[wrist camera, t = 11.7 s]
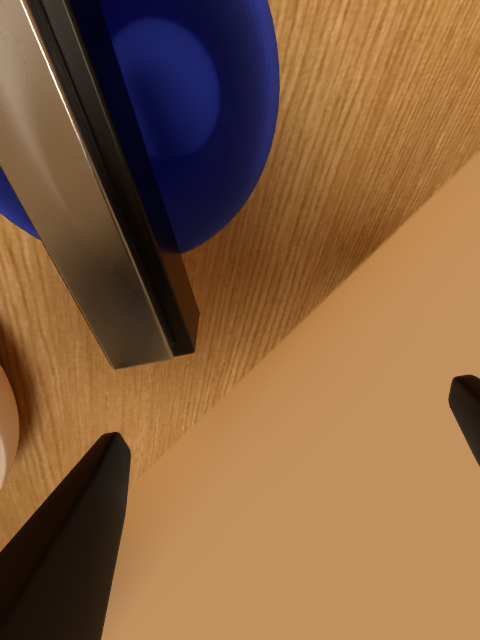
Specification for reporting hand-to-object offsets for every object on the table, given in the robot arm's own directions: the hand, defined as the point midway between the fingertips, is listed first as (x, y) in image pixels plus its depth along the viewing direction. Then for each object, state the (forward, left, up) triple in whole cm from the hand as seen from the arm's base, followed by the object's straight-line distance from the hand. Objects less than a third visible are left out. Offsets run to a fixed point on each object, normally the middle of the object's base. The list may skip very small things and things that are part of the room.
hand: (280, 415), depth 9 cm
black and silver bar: (+7, -2, -3) cm, 7 cm away
